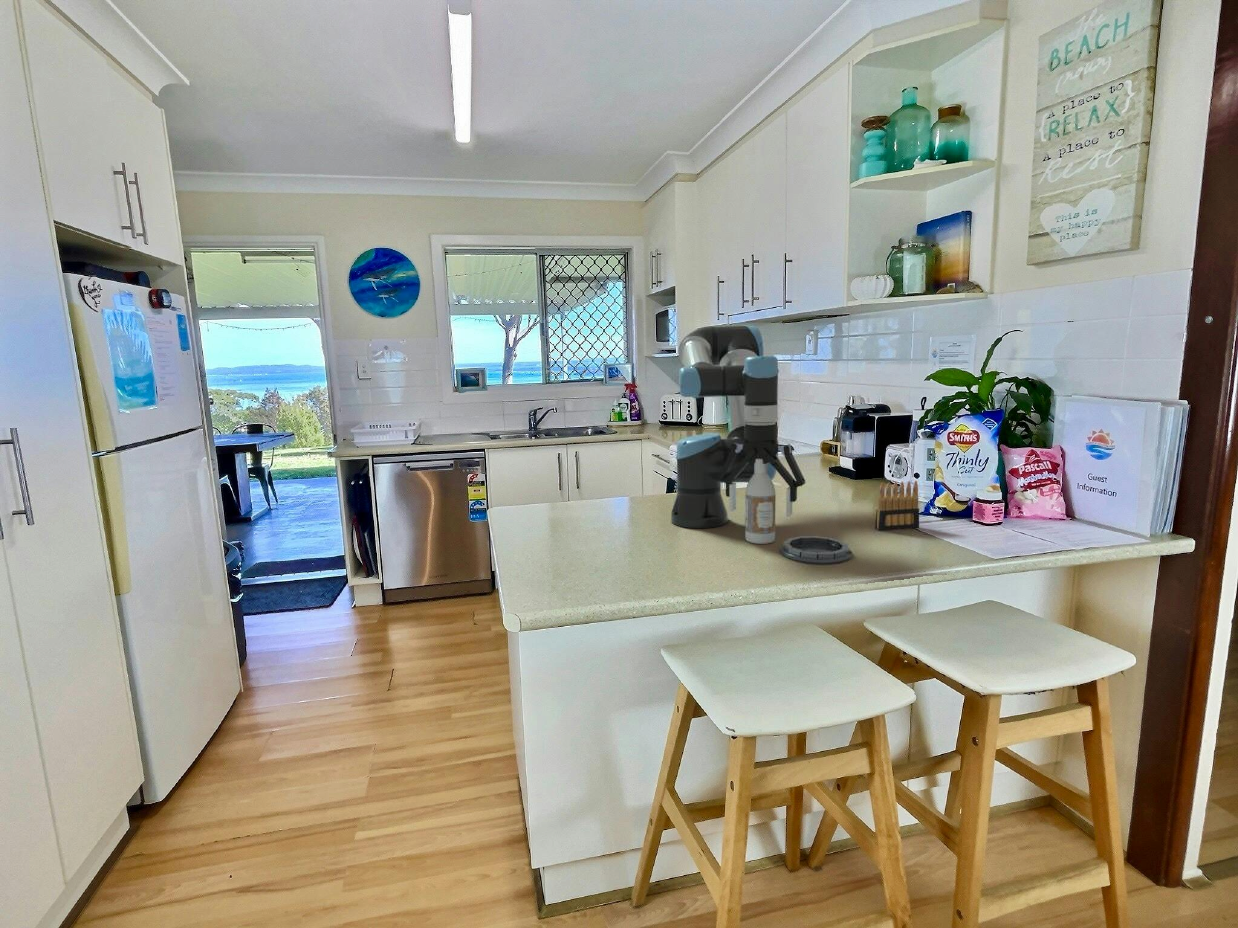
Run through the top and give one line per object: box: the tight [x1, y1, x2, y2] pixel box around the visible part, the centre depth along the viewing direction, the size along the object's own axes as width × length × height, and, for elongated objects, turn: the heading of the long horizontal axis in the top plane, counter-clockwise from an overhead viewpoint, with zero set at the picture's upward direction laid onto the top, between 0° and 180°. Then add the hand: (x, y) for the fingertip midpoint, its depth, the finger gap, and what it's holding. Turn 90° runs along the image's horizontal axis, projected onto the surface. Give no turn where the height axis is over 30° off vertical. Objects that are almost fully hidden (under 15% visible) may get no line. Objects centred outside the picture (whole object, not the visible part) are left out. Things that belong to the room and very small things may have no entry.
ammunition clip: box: [874, 480, 920, 532], centre depth 154 cm, size 11×2×12 cm, turn 97°
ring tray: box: [780, 535, 853, 565], centre depth 138 cm, size 15×15×2 cm
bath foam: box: [744, 459, 777, 545], centre depth 147 cm, size 7×7×20 cm
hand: (760, 512), depth 148 cm, fingers open, 13 cm apart
